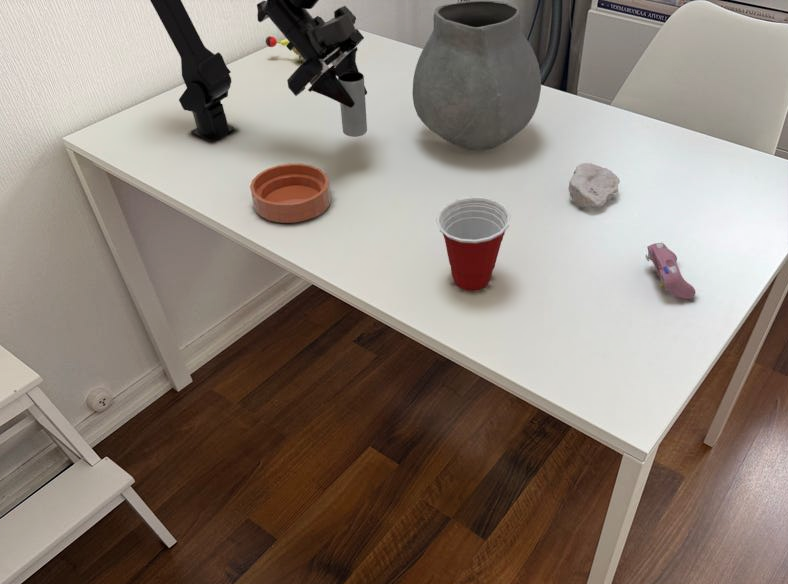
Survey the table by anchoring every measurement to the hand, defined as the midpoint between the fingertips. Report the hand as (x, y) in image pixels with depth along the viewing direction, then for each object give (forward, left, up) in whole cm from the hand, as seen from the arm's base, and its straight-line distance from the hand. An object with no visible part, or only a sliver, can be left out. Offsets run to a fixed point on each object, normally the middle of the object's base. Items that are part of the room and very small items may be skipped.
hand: (359, 100), depth 120 cm
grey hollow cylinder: (-1, 0, -6) cm, 7 cm away
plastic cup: (+36, -16, -13) cm, 42 cm away
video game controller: (+61, +2, -13) cm, 62 cm away
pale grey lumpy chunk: (+40, +17, -13) cm, 45 cm away
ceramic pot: (+11, +22, -13) cm, 28 cm away
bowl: (-2, -17, -13) cm, 22 cm away
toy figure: (-44, +29, -13) cm, 54 cm away
